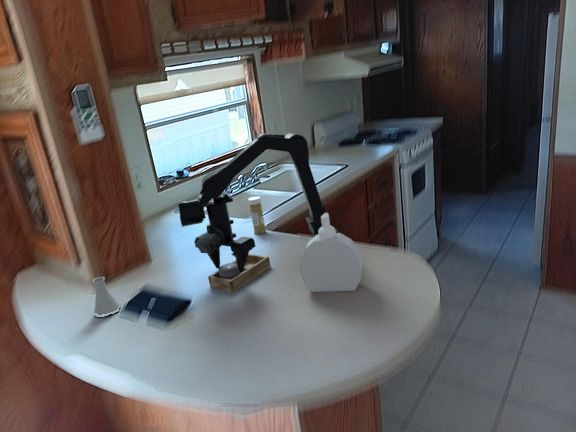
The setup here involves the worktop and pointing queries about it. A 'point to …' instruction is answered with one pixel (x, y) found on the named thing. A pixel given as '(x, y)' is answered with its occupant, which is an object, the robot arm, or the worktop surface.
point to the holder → (251, 270)
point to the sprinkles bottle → (257, 215)
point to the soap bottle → (331, 261)
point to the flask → (104, 298)
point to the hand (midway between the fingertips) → (229, 270)
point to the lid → (229, 271)
